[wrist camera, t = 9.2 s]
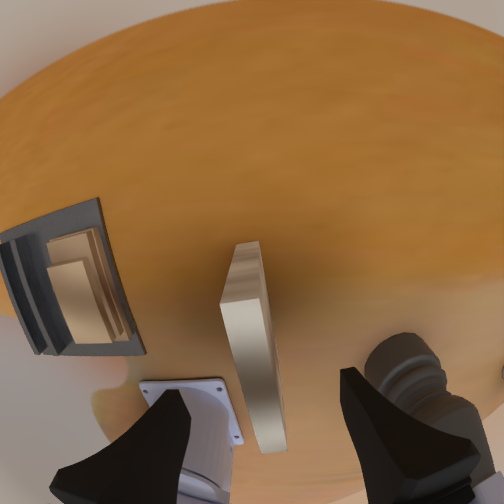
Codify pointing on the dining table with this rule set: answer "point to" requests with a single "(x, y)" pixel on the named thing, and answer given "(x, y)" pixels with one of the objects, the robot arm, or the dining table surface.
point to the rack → (40, 287)
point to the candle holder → (426, 393)
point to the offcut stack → (86, 288)
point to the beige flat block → (255, 345)
